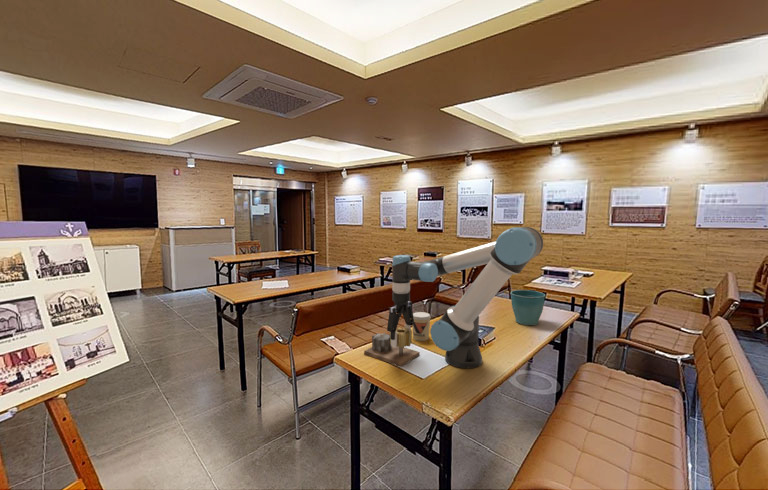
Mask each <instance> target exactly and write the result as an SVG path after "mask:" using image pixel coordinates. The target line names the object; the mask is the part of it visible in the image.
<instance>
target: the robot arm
mask: <svg viewBox="0 0 768 490" xmlns="http://www.w3.org/2000/svg"><path fill="white" fill-rule="evenodd" d="M543 248H544V239H543V236H542V235H541V233H540V232H539V231H538V230H537V229H535V228H533V227H530V226H522V227H519V226H518V227H517V226H516V227H511V228H508V229H506V230H504V231H503V232H502V233H500V234H499V235H498V237H497V238H496V240H494V241H491V242H488V243H485V244H481V245H478V246H475V247H471V248H467V249H464V250H461V251H458V252H454V253H450V254H447V255H443V256H440V257H436V258H434V259H430V260H429V259H428V260H425V261H412V260H411V256H410V255H406V254H398V255H393V256H392V265H391V268H392V275H391V276H392V281H391V282H392V284H391V285H392V293H391V295H392V299H391V300H392V301H393V302H394V303H393V306H392V307H391V306H390V307H389V308H388V311H389V312H388V313H389V314H388V320H387V327H386V331H387V332H389V334H390V333H391V346H393V347H397V332H396V329H397V328H398V325H399V321H400V317H402V316H403V320H404V321H405V324H404V328H408V330H411V331H412V329H411V327H412V325H413V323H412V322H414V317H413V313H414V312H413V301H411V292H410V291H411V280H414V281H418V282H419V281H420V282H425V283H427V282H428V283H430V282H431V283H434V281H436V279H437V278H438V277H439V276H443V275H447V274H450V273H454V272H458V271H463V270H467V269H472V268H475V267H479V266H482V265H485V267H484V268H483V269H482V270H481V271H480V273H479V274H478V275H477V277H476V278H475V280H473V282H472V283H471V285H470V286H469V287H468V289H467V290H466V291H465V293H464V294H463V296H461V297H460V299H459V300H458V302H457V303H456V304H455V305H452V306H449V307H448V308H447V309H446V311H445V312H444V313H443V315H442V316H441V318H439V319H438V320H436V321H434V322H433V324H432V325H431V328H430V330H429V334H430V336H431V340H432V342H433V343H434V345H435V346H436V347H437V348H439V349H440V350H442V351H445V355H444V356H445V358H444V359H445V360H444V361H445V362H446V363H448V364H449V365H450V366H453V367H455V368H461V369H474V368H479V367H481V366H482V364H483V356H482V353H481V349H480V346H479V328H480V327H479V324H480V323H479V321H480V316H479V315H481V313H482V311H484V310H485V308H486V307H487V306H488V305H489V304H490V302H491V301H492V300H493V299H494V298H495V296H497V294H498V293H499V291H500V290H501V289H502V288H503V287H504V285H505V284H506V283H507V281H508V280H509V279H510V278H511V276H512V275H518V274H520V273H521V272H522V271H523V269H524V268H525V267H526V266H527V265H528V264H529V262H530V261H531V260H533V259H534V258H536V257H538V256H539V255H540V253H541V252H542V251H543Z"/></svg>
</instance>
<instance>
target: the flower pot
mask: <svg viewBox="0 0 768 490" xmlns="http://www.w3.org/2000/svg"><path fill="white" fill-rule="evenodd" d="M545 297H546V294H545V293H543V292H540V291H536V290H529V289H516V290H512V291H510V298H511V307H512V308H511V309H512V312H513V315H514V317H515V322H516V323H518V324H520V325H525V326H535V325H538V324H539V323H540V322H539V321H540V318H541V316H542V313H543V310H544V305H545V303H544V302H545Z"/></svg>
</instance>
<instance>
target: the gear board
mask: <svg viewBox="0 0 768 490" xmlns="http://www.w3.org/2000/svg"><path fill="white" fill-rule="evenodd" d="M371 345H372V346H371V347H369V348H367V349H365V350H364V351H363V354H364V355H366V356H369V357H372V358H373V359H377V360H380V361H384V362H387V363H389V364H392V365H395V366H398V367H404V365H407V364H408V363H409V362H411V361H412V360H415V359H416V358H417V357H419V356H420V354H421V353H420V351H417V350H414V349H411V348H407V347H404V348H401V347H393V346H391V344H390V333H389V334H387V333H386V332H382V333H375V334H373V335H372V336H371Z"/></svg>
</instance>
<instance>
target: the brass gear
mask: <svg viewBox="0 0 768 490" xmlns="http://www.w3.org/2000/svg"><path fill="white" fill-rule="evenodd" d="M396 332H397V347H401V348H407V347H410V346H412V345H411V344H412V342H413V341H412V340H413V330H412V329H411V330H408V328H405V327H399V326H397V329H396ZM389 334H390V344H391V333H390V332H389Z"/></svg>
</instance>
